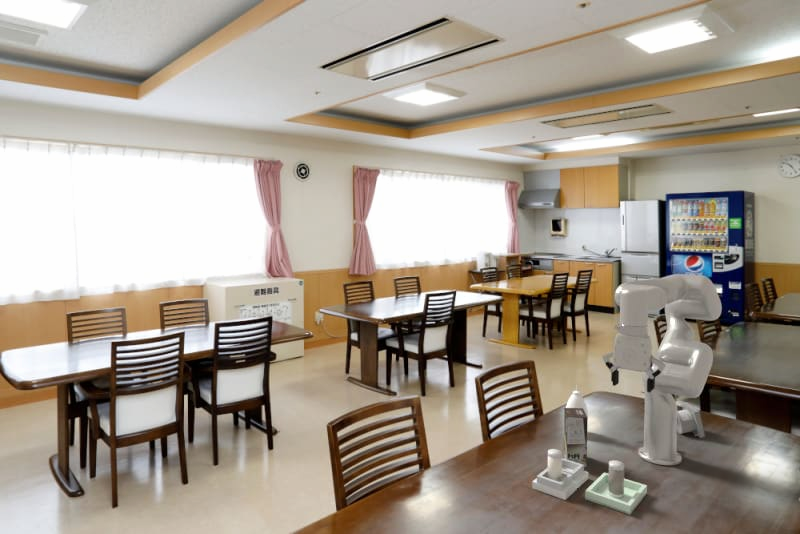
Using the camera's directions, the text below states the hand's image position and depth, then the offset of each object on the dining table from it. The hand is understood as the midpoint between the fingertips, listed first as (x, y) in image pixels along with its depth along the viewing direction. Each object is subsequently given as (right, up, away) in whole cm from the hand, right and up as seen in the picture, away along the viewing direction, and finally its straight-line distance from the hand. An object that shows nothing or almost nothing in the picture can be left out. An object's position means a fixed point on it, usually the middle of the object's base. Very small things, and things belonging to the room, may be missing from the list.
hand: (632, 387), depth 150 cm
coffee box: (-12, -28, +16) cm, 34 cm away
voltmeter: (+34, -25, +43) cm, 60 cm away
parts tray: (-8, -29, -7) cm, 31 cm away
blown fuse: (-8, -28, -7) cm, 30 cm away
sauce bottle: (-3, -26, +38) cm, 46 cm away
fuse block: (-21, -29, +1) cm, 35 cm away
